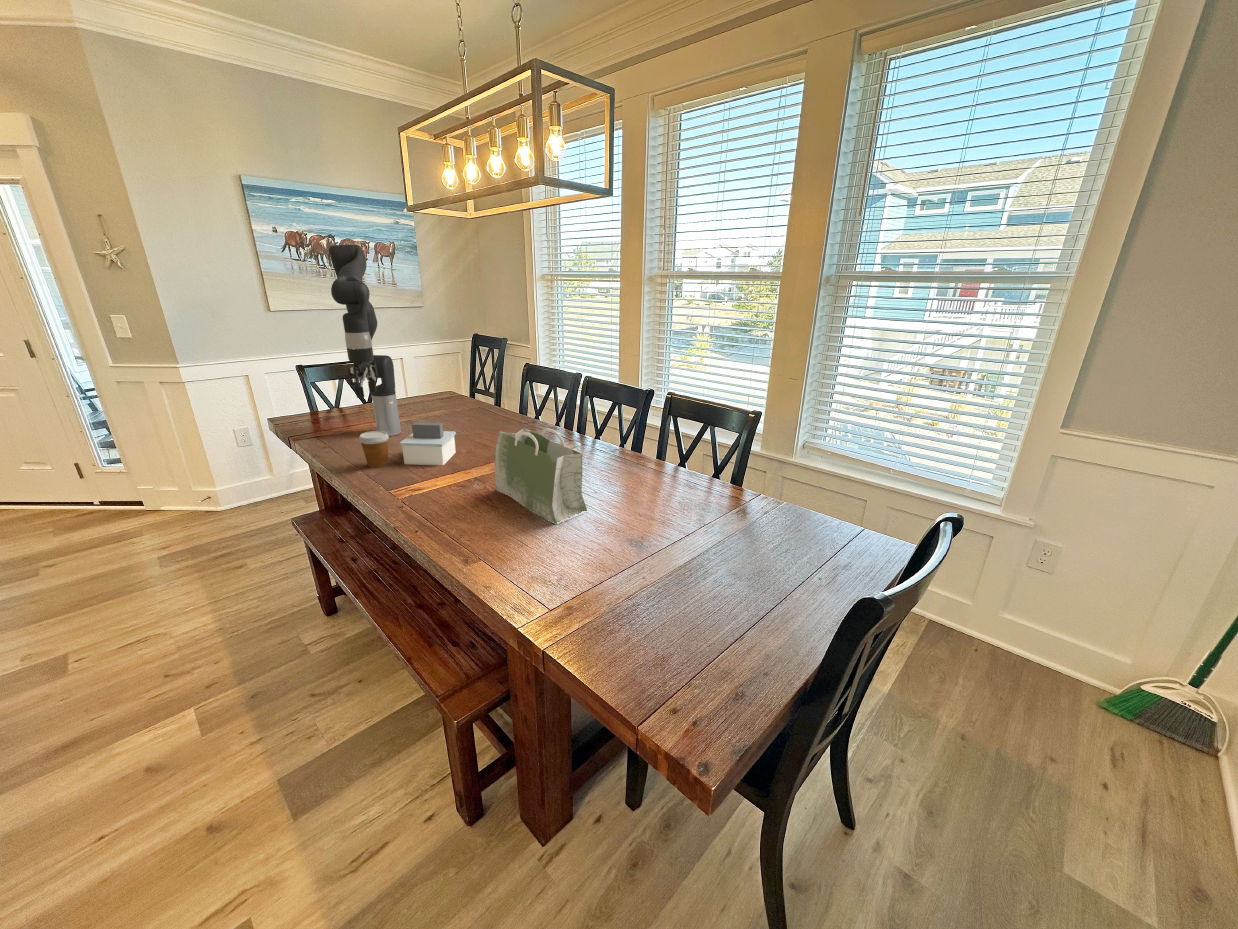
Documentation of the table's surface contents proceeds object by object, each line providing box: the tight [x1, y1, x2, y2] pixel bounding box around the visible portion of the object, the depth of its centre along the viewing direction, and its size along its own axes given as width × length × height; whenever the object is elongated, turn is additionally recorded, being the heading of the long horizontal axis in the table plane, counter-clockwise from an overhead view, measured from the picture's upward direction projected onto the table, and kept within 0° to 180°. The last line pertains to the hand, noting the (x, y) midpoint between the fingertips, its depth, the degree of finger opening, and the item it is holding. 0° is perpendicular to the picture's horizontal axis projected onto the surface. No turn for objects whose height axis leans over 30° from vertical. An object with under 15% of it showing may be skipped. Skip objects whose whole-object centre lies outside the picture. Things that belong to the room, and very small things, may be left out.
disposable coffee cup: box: [358, 430, 390, 469], centre depth 172 cm, size 10×10×12 cm
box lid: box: [399, 421, 457, 447], centre depth 178 cm, size 15×15×7 cm
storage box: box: [401, 435, 457, 466], centre depth 181 cm, size 14×14×8 cm
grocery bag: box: [494, 427, 588, 525], centre depth 148 cm, size 32×14×23 cm, turn 45°
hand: (367, 394), depth 165 cm, fingers open, 8 cm apart
